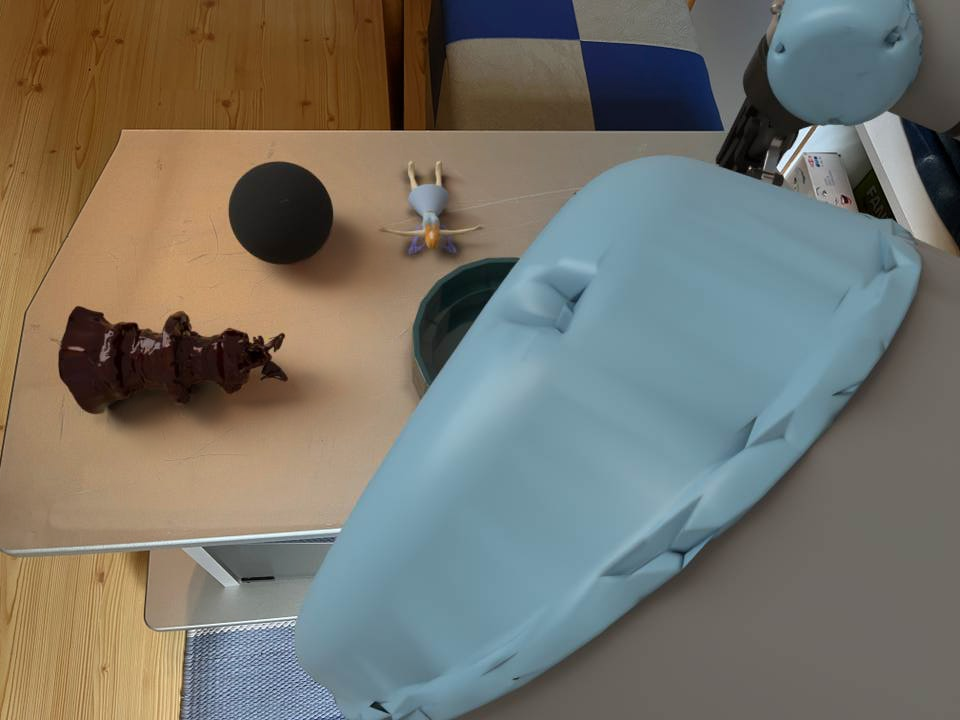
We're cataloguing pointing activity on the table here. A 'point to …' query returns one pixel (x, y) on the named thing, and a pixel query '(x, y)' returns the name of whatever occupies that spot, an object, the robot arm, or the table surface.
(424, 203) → the fairy figurine
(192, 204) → the table surface
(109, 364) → the figurine
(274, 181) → the speaker
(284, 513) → the table surface
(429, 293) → the bowl
